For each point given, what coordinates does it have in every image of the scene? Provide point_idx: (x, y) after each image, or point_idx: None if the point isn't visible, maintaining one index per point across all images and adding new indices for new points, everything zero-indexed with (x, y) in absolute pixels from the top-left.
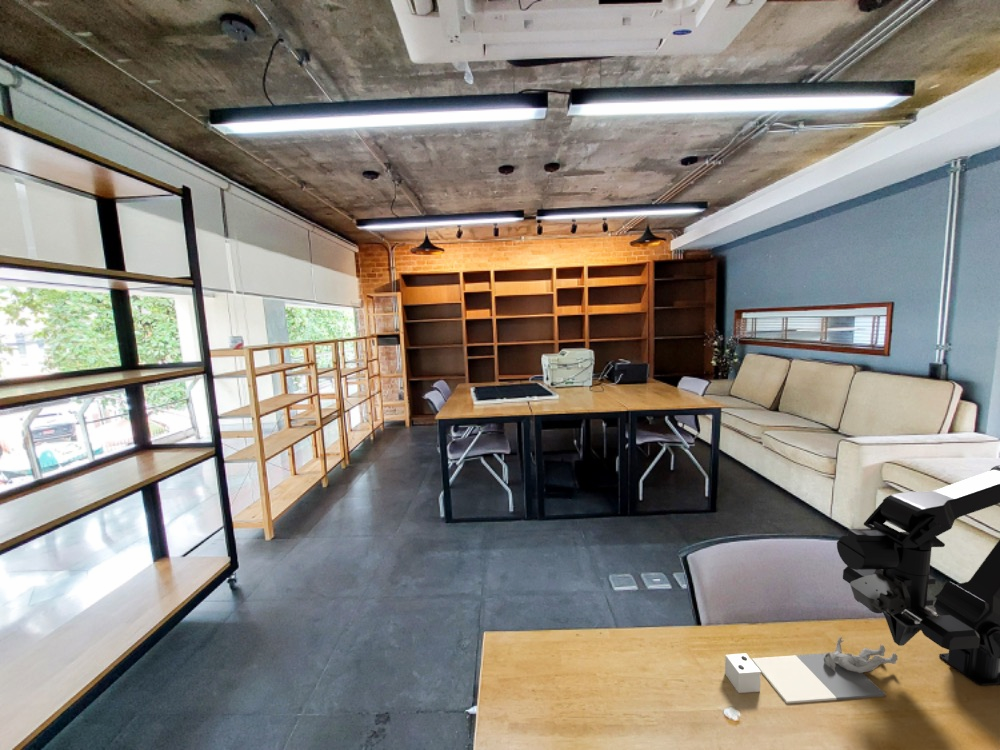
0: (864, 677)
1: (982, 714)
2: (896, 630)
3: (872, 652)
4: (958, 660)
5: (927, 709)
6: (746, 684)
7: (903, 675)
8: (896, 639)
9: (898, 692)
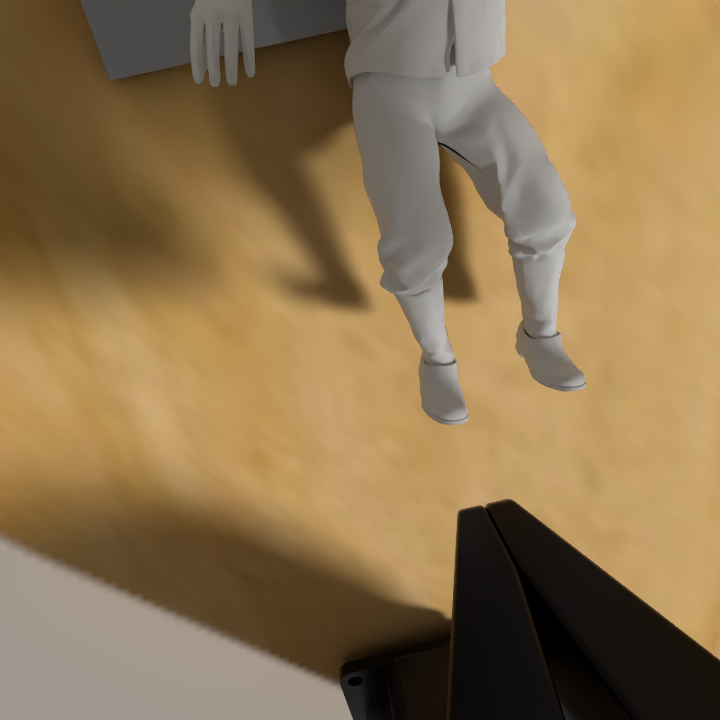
0: (287, 2)
1: (148, 578)
2: (546, 692)
3: (527, 259)
4: (435, 709)
5: (78, 330)
6: None
7: (378, 374)
8: (499, 547)
9: (198, 230)
